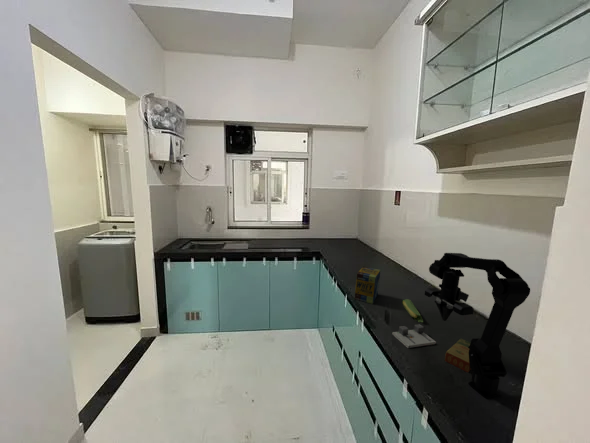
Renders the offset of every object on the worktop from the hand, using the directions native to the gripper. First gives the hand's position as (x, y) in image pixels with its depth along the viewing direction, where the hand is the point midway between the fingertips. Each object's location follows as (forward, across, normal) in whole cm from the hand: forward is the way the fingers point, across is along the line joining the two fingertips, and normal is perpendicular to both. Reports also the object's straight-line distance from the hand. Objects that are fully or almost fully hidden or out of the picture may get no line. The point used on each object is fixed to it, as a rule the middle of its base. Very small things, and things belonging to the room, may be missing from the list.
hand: (444, 320), depth 109 cm
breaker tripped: (+11, +11, +10) cm, 18 cm away
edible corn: (+12, +27, -8) cm, 31 cm away
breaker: (+11, +10, +2) cm, 15 cm away
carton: (+13, -8, -4) cm, 15 cm away
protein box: (+12, +50, +4) cm, 51 cm away
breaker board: (+12, +8, +7) cm, 16 cm away
